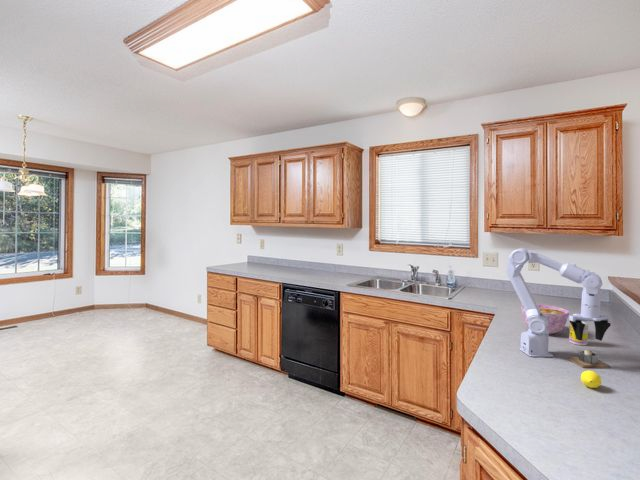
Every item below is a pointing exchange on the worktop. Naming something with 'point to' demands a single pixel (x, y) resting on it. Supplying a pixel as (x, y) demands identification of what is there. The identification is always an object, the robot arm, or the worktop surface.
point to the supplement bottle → (573, 338)
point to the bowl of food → (551, 317)
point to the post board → (586, 365)
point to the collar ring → (588, 358)
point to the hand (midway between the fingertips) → (588, 339)
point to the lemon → (591, 379)
